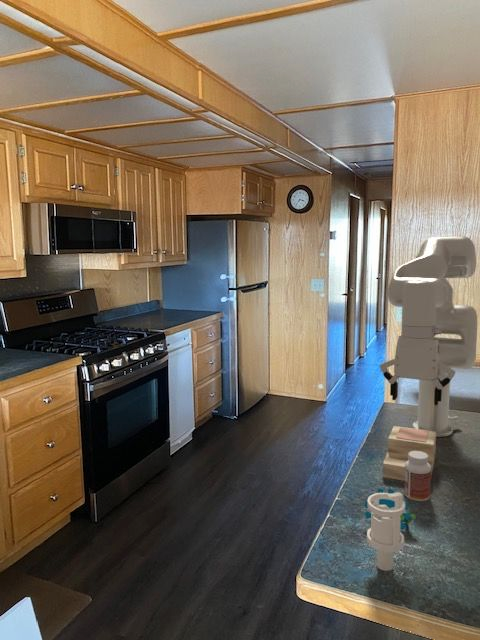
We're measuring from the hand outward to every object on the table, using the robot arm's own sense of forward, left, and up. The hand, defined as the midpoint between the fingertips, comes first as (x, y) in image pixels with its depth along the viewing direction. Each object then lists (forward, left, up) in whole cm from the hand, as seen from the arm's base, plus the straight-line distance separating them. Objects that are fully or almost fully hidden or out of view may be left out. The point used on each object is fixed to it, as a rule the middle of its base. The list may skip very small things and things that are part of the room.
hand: (415, 401), depth 119 cm
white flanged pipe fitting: (+22, +20, -25) cm, 39 cm away
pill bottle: (-1, 0, -25) cm, 25 cm away
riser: (-10, -13, -25) cm, 30 cm away
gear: (+13, +9, -25) cm, 30 cm away
